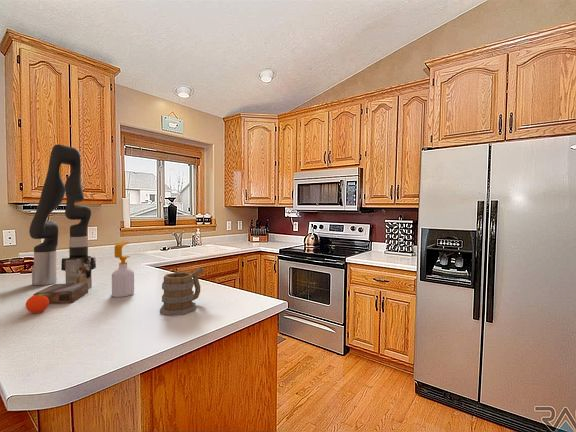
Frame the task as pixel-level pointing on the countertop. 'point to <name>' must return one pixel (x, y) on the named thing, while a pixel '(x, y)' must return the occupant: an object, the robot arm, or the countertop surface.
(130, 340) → the countertop surface
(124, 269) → the soap bottle
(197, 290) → the tankard
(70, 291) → the dock
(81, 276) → the coffee box
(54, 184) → the robot arm
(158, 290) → the countertop surface
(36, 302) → the clementine
